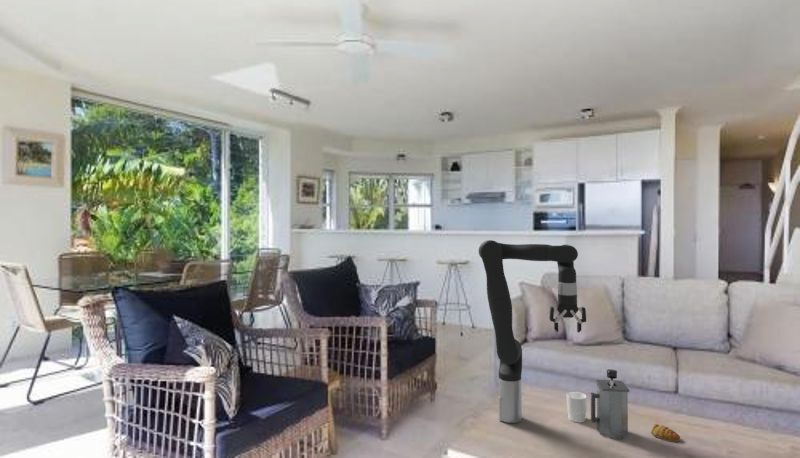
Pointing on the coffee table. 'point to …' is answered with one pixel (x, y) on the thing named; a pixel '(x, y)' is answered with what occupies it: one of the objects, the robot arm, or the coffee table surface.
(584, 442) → the coffee table surface
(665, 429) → the pastry
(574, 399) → the white cup
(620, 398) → the square french press
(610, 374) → the plunger
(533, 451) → the coffee table surface
